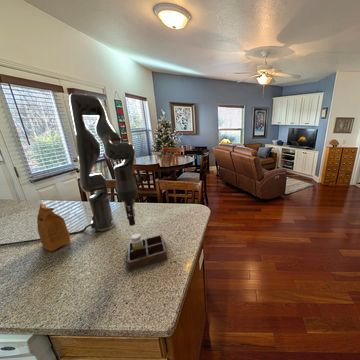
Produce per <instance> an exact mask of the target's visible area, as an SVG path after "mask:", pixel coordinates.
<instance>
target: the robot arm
mask: <svg viewBox="0 0 360 360" xmlns="http://www.w3.org/2000/svg"><path fill="white" fill-rule="evenodd" d="M69 106H70V112H71V116H72V121H73V125H74V132H75V133H74V134H75V140H76V141H75V145H76V151H77V152H76V153H77V158H78V165H79V183H80V188H81V190H82V191H83V192H84V193H92V192H95V193H94V194H93V195H91V196H89V197H88V204H89V208H90V212H91V214H92V215H91V221H90V224H88V225H85V227H84V228H83V229H81V230H77V231H71V232H69V236H70V235H77V234H80V233H83V232H85V231H86V230H87V228H89V227H91V229H94V232H104V231H108V230H110V229H111V230H112V228H114V227H115V219H114V217H113V212H112V208H111V204H110V203H111V202H110V199H109V191H108V185H107V179H106V177H105V175H104V174H102V173H100V172H99V173H93V174H91V173H92V169H93V167H94V166H95V165H96V163H97V162H98V160H99V158H100V157H101V143H102V145H103V150H104V155H105V157H106V158H107V159H108V160H109V161H122V160H123V161H122V163H120V164H117V165H115V166H114V167H113V174H114V179H115V189H116V193H117V198H118V201H120V202H123V203H124V205H123V206H124V209H125V210H124V211H125V214H126V219H127V220H128V225H129V226H130V227H131V226H136V219H135V217H136V213H135V212H136V210H135V207H136V205H135V204H136V202H135V200H137V198H138V196H139V194H138V189H137V183H136V182H137V181H136V180H135V179H136V178H135V174H134V162H135V156H136V151H135V150H136V149H135V147H134V145H133V144H132V143H131V142H128V141H124V142H122V137H121V135H120V134H119V132H118V131H117V130H116V128H115V126H114V125H113V124H112V122H111V120H110V117H109V115H108V113H107V111H106V109H105V107H104V104H103V103H102V101H101V99H100V98H99V97H97V96H96V95H92V94H85V93H84V94H83V93H76V92H74V93H71V94H70V95H69ZM84 117H97V120H96V122H95V124H94V125H95V126H94V130H95V133H96V135H97V136H98V137H99V139H100V140H99V139H98V138H97V137H96V135H95V134H94V133H93V132H92V131H91V130H90V128H89V127H88V125H87V124H86V123H85V120H84ZM100 141H101V143H100ZM38 241H41V240H40V238H34V239H27V240H20V241H13V242H6V243H0V247H5V246H12V245H17V244H18V245H19V244H25V243H33V242H38Z"/></svg>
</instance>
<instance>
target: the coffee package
mask: <svg viewBox="0 0 360 360" xmlns="http://www.w3.org/2000/svg"><path fill="white" fill-rule="evenodd" d="M54 210H55V208H53V207H47V204H44V203H40V205H39V209H38V213H37V217H36V221H37V222H36V223H37V227H36V228H37V233H38V236H39V239H40V240H39V241H40V243H41V245H42V247H43V248H44V249H45V250H46V251H50V252H55V250H57V249H59V248H61V247H63V246H66V245H68V244H69V243H71V242H72V241H71V237H70V235H69V233H70V231H69V229H68V227H67V224H66V220H65V219H64V217H62V216H61V215H59V214H57V213H55V212H53V211H54Z"/></svg>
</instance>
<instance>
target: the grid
mask: <svg viewBox="0 0 360 360" xmlns="http://www.w3.org/2000/svg"><path fill="white" fill-rule="evenodd" d="M142 241H143V246H144V248H140V249H136V250H133V248H132V243H131V241H129V242H128V243H127V267H128V271H132V270H136V269H139V268H142V267H145V266H148V265H152V264H155V263H158V262H162V261H165V260H167V259H168V255H167V249H166V245H165V241H164V238H163V234H158V235H154V236H150V237H146V238H142Z"/></svg>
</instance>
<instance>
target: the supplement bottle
mask: <svg viewBox="0 0 360 360" xmlns="http://www.w3.org/2000/svg"><path fill="white" fill-rule="evenodd" d="M142 239H143V238H142V235H141V234H140V233H134V234H133V235H131V240H130V242H131V243H132V248H133V250H136V249H140V248H144V246H143V241H142Z"/></svg>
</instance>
